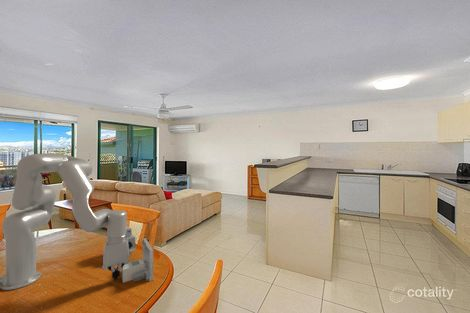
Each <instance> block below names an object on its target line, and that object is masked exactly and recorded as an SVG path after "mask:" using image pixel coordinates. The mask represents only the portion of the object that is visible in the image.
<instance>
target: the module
mask: <svg viewBox="0 0 470 313" xmlns="http://www.w3.org/2000/svg"><path fill="white" fill-rule="evenodd" d="M143 271H144V262H143V258H141V259H137V260H133V261H129V263H128V264H126V265H124V266H123V267H122V268H121V280H122V283H126V282H131V281H133V274H136V273H140V272H143Z"/></svg>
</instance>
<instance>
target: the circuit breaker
mask: <svg viewBox="0 0 470 313" xmlns="http://www.w3.org/2000/svg"><path fill="white" fill-rule="evenodd" d="M132 230H133V229H132V228H131V227H129V226H127V229H126V234H130V237H128V238H127V239H128V245H129V256H131V255H132V252H134V251H136V237H135V236H134V235H132V232H133V231H132Z"/></svg>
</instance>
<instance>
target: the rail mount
mask: <svg viewBox="0 0 470 313" xmlns="http://www.w3.org/2000/svg"><path fill="white" fill-rule="evenodd" d="M142 260H143V262H144V271H143V272H140V273H136V274H133V280H132V282H133V283H135V282H139V281H143V280H145V281H146V282H147V281H148V282H152V281H154V249H153V248H152V246H151V244H150V242H149V241H148V239H147V237H146V238H142Z"/></svg>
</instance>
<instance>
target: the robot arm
mask: <svg viewBox="0 0 470 313" xmlns="http://www.w3.org/2000/svg"><path fill="white" fill-rule="evenodd" d="M55 172H57V173H58V175H59V177H60V179H61V181H62V182H63V183H64V185H65V187H66V189H68V191H69V193H70V194H71V196H72V205H71V208H72V210H71V211H72V216H73V217H74V220H76V223H77V224H78V226H79V227H80V228H81V230H83V231H84V232H86V233H95V232H96V231H98V230H100V229H102V228H104V227H106V226H107V232H106V233H107V234H106V236H107V237H106V239H107V240H106V241H105V243H104V247H103V252H102V254H103V255H102V267H101V269H102V270H108V271H110V272H111V279H113V281H118V280H119V278H120V276H121V275H120V274H121V273H120V272H121V271H122V267H123V266H124V265H126V264H128V263H130V255H129V245H128V239H127V238H128V237H130V234H126V229H127V227H128V226H127V224H128V223H127V222H128V212H126V211H125V210H121V209H120V210H118V209H117V210H113V209H109V208H102V209H99V210H97V211H94V212H93V210H92V209H91V207H90V205H89V198H90V195H91V194H92V192H94V190H95V186H94V184H93V183H92V181H91V180H90V179H89V176H90V175H91V174H92V172H93V166H92V165H91V163H90V162H89V161H87V160H85V159H82V158H78V157H75V156H71V155H68V154H65V153H64V154H63V153H34V154H28V155H25V156H23V157H21V159H20V160H19V161H18V162H17V165H16V180H15V183H14V189H13V193H12V197H11V198H12V199H11V206H12V207H13V208H14V209H15V210H19V211H18V212H15V213H12V214H9V215H8V216H7V217H5V218H4V219H3V220H2V223H1V229H2V234H3V236H4V243H5V247H4V248H5V274H3V275H1V276H0V289H1V290H3V291H12V290H16V289H21V288H23V287H25V286H29V285H31V284H33V283H34V282H36V281H37V280H39V279H40V278H41V275H42V273H41V271H38V270H37V240H36V239H37V238H36V236H35V235H34V234H33V233H32V230H34V229H37V228H40V227H43V226H44V225H46V224H48V223H49V222H50V221H51V219H52V216H53V212H54V208H55V202H56V192H55V190H54V188H53V187H51V186H49V185H42V184H43V182H44V181H43V180H44V178H43V176H42V174H44V173H55ZM116 265H117V267H115V266H116Z"/></svg>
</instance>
